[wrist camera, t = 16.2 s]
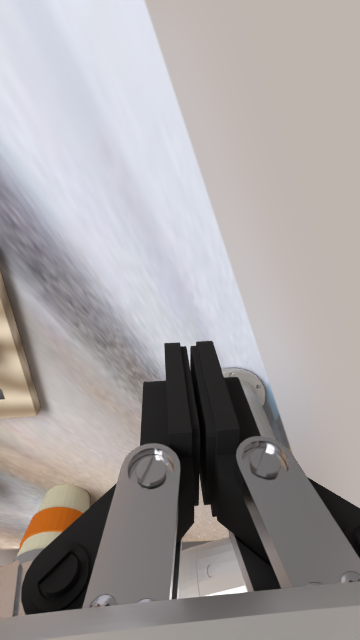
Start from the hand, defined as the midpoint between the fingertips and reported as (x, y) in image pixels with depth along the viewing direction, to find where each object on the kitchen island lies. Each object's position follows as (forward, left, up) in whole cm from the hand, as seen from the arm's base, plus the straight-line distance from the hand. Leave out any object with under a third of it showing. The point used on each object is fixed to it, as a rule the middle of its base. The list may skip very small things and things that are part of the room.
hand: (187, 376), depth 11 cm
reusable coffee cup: (-55, +22, -32) cm, 67 cm away
